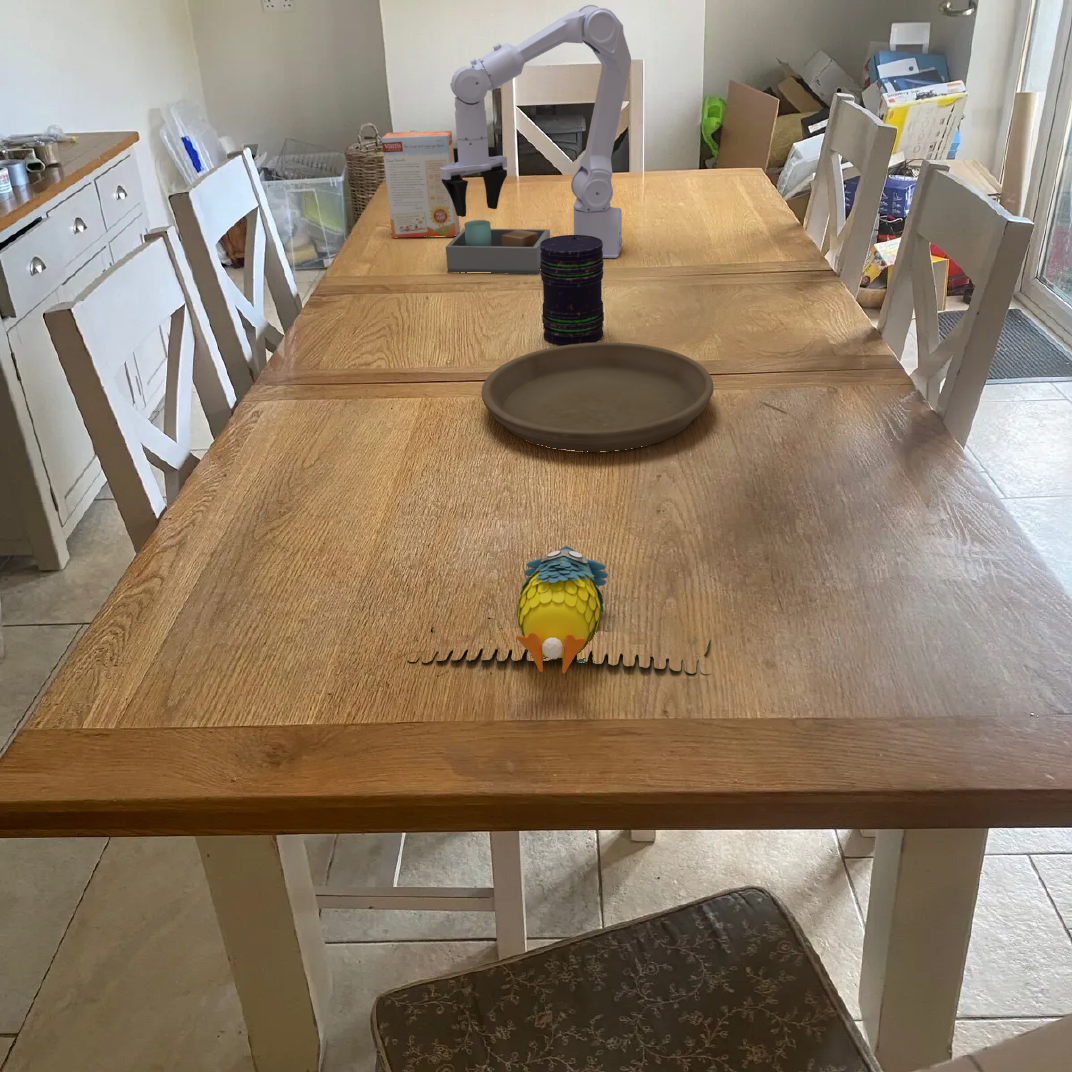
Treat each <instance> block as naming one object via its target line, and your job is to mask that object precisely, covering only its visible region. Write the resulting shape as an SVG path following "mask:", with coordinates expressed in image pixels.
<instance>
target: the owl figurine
mask: <svg viewBox="0 0 1072 1072" xmlns="http://www.w3.org/2000/svg"><path fill="white" fill-rule="evenodd" d="M526 566H527V568H528V569H525V570H524V572H523V573H524V575H525V576H526V579H525V580H526V581H525V582H524V584H522V585H521V591H520V593H519V594H520V596H519V599H518V602H517V608H516V612H515V613H516V618H517V622H518V623H517V624H518V628H520V629H521V631H522V633H521V634H522V635H523V636H518V637H517V640H518V641H520V643H521V644H522V645H523V646H524V647H525V648H526V649H527V650H528V651H529V652H530V653H531V656H532V658H533V659H534V663H535V665H536V667H537V670H538V672H539V673H542V672H544V665H543V663H544V662H543V659H546V658H552V660H558V659H557V658H559V659H560V658H562V660H561V662H562V666H561V672H562V674H565V673H567V670H568V668H569V667H570V665H571V663H572V662H573V661H574V660H575V658H576V655H577V654H578V653H580V652H581V650H583V649H584V648H585V647H586V645H587V644H588V642H590V641H591V640H592V639H593V637H594V635H595V632H596V633H597V632H598V630H600V626H601V621H602V613H604V606H603V604H604V599H603V597H604V596H603V595H602V592H601V591H600V589H599V588H600V587H602V586H605V585H606V584H607V580H606V578H608V577H609V574H608V572H606V571H604V570H605V569H606V565H604V563H601V562H598V561H596V560H595V559H588V558H586V557H585V556H583V554H581V553H580V552H578V551H576V550H574V548H572V547H570V546H569V545H564V546H562V547H561V548H559V549H558V550H555V551H552V552H550V553H548V554H547V555H546V557H544V558H543V557H542V558H537V559H534V560H530V561H528V562H527V563H526ZM527 650H526V651H527ZM545 656H546V657H545ZM543 657H545V658H543ZM584 659H586V658H583V659H579V660H577V661H576V663H578V662H582V663H583V662H585V661H584ZM572 660H573V661H572ZM594 662H595V661H594Z"/></svg>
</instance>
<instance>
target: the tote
mask: <svg viewBox="0 0 1072 1072" xmlns="http://www.w3.org/2000/svg"><path fill="white" fill-rule="evenodd" d="M515 230H523V231H529V232H536V233H538V241H537V242H536V244H535V245H534V247H502V239H501V235H504V234H507V233H510V232H512V231H515ZM548 238H551V230H550V229H549V228H547V229H544V228H542V229H538V228H536V229H533V228H491V243H492V246H466V240H465V227H464V228H463V229H462V230H460V231H459V232H458V234H457V235H456V237H453V238H452V240H451V241H450V242H449V243H448V244H447V245H446V246H445V255H446V256H445V257H446V267H447V273H448V272H459V273H458V274H462V273H461V272H465V273H464V274H468V273H467V272H491V273H508V274H507V275H528V274H538V275H539V273H540V272H541V270H540V269H541V268H540V260H541V254H540V253H541V250H540V243H541V242H542V241H543V240H545V239H548ZM539 271H540V272H539Z"/></svg>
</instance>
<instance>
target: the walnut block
mask: <svg viewBox="0 0 1072 1072" xmlns="http://www.w3.org/2000/svg"><path fill="white" fill-rule="evenodd" d="M501 239H502V247H534V245H535V244H536V242H537V241H538V233H536V232H529V231H523V230H515V231H512V232H510V233H507V234H504V235H501Z"/></svg>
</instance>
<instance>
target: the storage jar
mask: <svg viewBox="0 0 1072 1072" xmlns="http://www.w3.org/2000/svg"><path fill="white" fill-rule="evenodd" d="M602 248H603V242H602V240H601V239H599V238H597V237H593V236H587V235H574V234H565V235H564V234H563V235H557V236H550V238H548V239H545V240H543V241H542V242H541V243H540V250H541V253H540V254H541V260H540V268H541V270H540V272H541V273H540V279H541V281H542V288H543V289H542V290H543V291H542V292H543V293H542V294H543V295H542V296H543V302H542V305H541V306H542V308H541V309H542V314H541V320H542V322H541V323H542V326H543V328H542V329H543V331H544V332H543V335H542V336H543V339H544V341H545V342H546V343H549V344H551V345H554V346H557V347H558V346H564V345H571V344H582V343H595V342H597V341H598V342H600V341H601V340H602V339H603V338H602V337H604V329H603V328H604V321H605V313H604V301H603V300H602V292H603V290H602V288H603V287H602V286H603V285H602V280H603V277H604V273H605V272H604V258H603V251H602ZM601 338H602V339H601ZM599 340H600V341H599Z"/></svg>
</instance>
